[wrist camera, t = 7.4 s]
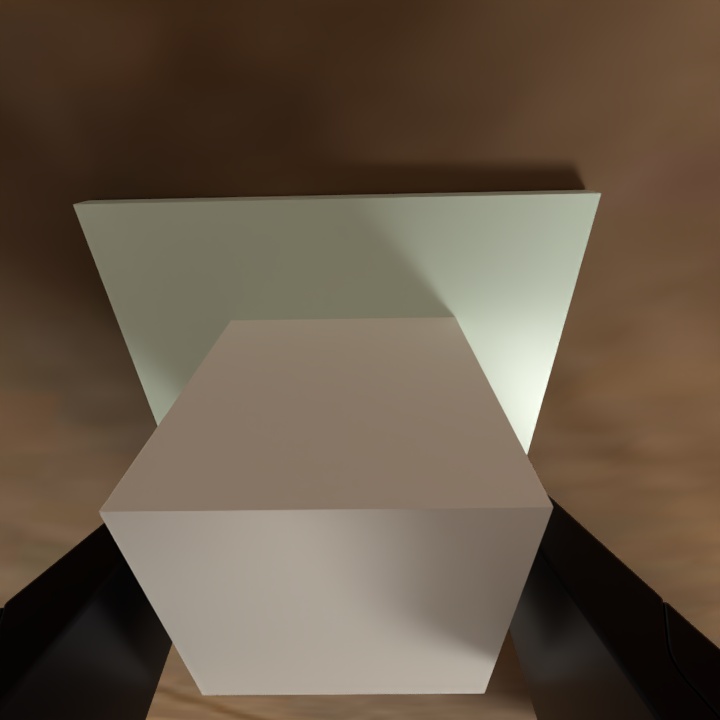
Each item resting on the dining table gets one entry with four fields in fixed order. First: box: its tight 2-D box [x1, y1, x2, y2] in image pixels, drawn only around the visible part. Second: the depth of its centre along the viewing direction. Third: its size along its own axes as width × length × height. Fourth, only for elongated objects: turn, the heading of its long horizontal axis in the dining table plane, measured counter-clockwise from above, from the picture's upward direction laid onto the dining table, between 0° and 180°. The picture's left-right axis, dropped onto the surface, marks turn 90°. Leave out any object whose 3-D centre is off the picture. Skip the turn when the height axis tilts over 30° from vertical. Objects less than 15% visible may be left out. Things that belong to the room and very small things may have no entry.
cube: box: [99, 317, 553, 695], centre depth 8 cm, size 5×5×5 cm
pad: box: [73, 190, 601, 455], centre depth 10 cm, size 10×10×1 cm
